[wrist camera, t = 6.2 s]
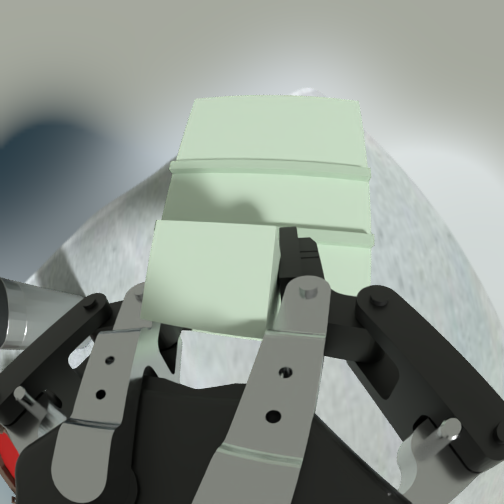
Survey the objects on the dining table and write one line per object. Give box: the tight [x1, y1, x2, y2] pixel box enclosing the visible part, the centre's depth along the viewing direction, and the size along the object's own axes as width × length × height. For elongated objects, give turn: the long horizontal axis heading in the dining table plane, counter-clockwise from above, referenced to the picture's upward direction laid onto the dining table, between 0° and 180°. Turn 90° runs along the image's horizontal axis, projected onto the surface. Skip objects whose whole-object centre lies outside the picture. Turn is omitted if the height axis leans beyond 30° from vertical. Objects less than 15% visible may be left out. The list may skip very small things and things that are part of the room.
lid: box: [140, 95, 374, 341], centre depth 12 cm, size 12×16×9 cm
